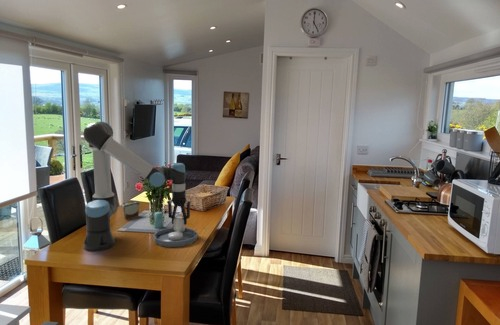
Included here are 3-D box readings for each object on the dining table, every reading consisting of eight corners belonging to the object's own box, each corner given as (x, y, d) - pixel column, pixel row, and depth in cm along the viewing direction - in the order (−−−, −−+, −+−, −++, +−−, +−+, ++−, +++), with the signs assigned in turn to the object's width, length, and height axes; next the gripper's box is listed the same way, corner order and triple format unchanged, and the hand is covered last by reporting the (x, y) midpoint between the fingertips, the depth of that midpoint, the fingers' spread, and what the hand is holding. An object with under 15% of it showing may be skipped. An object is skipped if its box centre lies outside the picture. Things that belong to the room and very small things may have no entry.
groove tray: (190, 248, 200) (190, 243, 199) (147, 245, 202) (147, 240, 202) (201, 232, 223) (201, 228, 222) (162, 230, 225) (162, 226, 225)
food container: (135, 213, 258) (134, 199, 256) (140, 215, 254) (139, 201, 252) (118, 218, 248) (118, 203, 247) (124, 220, 244) (123, 204, 243)
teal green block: (161, 228, 229) (161, 214, 228) (153, 228, 229) (153, 214, 228) (164, 226, 234) (163, 212, 232) (156, 225, 234) (156, 211, 233)
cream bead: (182, 234, 217) (182, 219, 215) (174, 234, 217) (173, 219, 216) (184, 231, 222) (184, 216, 220) (176, 231, 222) (176, 216, 221)
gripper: (195, 189, 218) (195, 228, 222) (165, 188, 220) (166, 226, 224) (192, 192, 211) (192, 232, 215) (161, 191, 213) (162, 231, 216)
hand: (179, 229), depth 219 cm, fingers closed on cream bead, 4 cm apart
